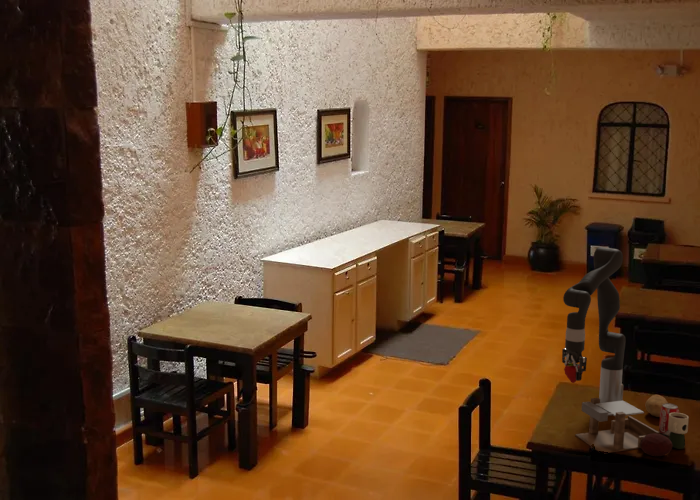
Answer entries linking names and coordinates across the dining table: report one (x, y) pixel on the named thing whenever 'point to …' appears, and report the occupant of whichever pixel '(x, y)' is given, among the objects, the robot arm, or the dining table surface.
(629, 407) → the trapdoor
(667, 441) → the potato
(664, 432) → the soda can
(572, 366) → the strawberry
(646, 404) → the potato
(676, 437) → the character mug
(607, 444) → the stand
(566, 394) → the dining table surface
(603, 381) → the robot arm
